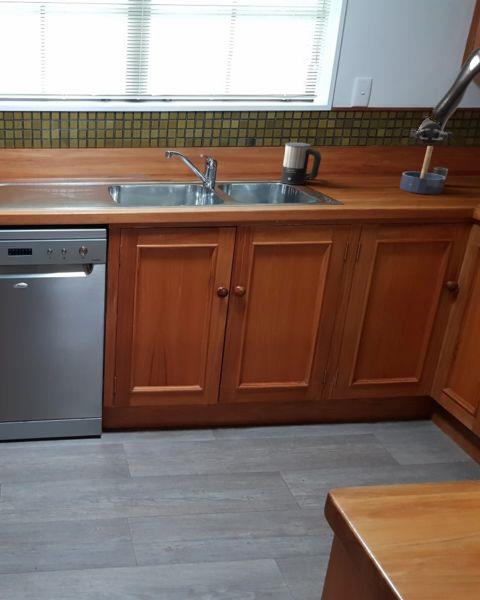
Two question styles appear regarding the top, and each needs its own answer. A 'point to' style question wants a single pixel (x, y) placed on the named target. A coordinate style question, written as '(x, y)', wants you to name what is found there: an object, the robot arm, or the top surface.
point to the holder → (441, 171)
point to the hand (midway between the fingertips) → (431, 136)
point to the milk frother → (299, 163)
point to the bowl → (422, 183)
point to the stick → (426, 161)
